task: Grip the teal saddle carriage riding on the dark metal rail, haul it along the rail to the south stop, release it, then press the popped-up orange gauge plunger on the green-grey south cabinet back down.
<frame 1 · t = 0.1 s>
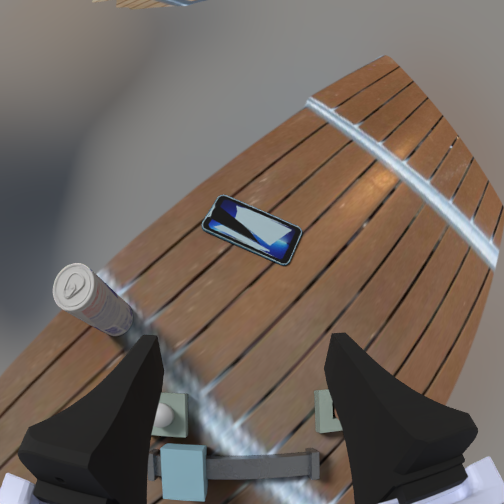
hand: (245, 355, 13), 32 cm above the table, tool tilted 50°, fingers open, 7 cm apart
smartphone: (251, 231, 52), on the table
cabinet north: (166, 413, 39), on the table
beverage can: (116, 318, 44), on the table
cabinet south: (335, 408, 40), on the table
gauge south: (345, 410, 37), point 4 cm above the table, slide at 2.0 cm
carriage: (185, 470, 33), point 3 cm above the table, slide at 7.0 cm
rail: (233, 465, 37), on the table
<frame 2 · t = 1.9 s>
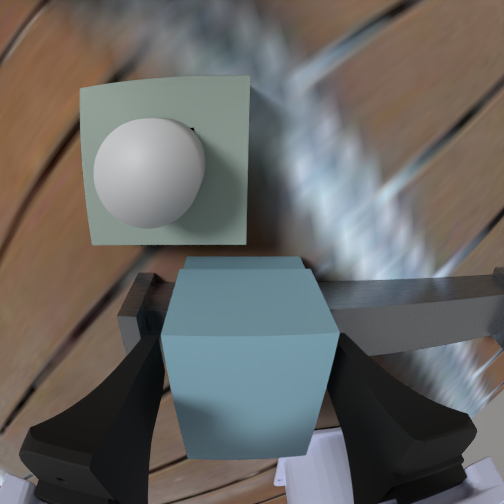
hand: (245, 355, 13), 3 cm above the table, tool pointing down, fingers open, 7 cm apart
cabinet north: (172, 154, 13), on the table
carriage: (245, 356, 13), point 3 cm above the table, slide at 7.0 cm
rail: (356, 305, 16), on the table
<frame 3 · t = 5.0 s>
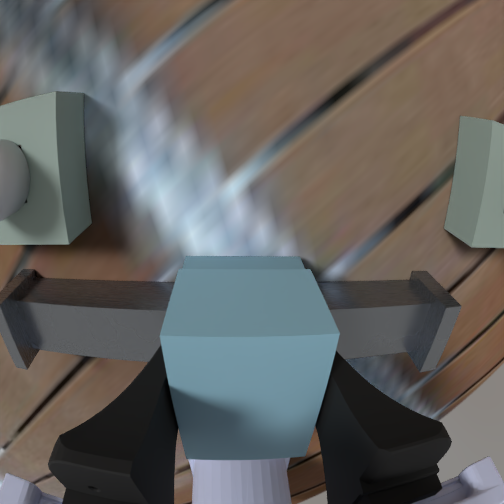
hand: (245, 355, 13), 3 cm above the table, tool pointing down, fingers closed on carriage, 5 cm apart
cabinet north: (33, 165, 12), on the table
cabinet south: (490, 180, 14), on the table
carriage: (244, 356, 13), point 3 cm above the table, slide at 0.0 cm, touching gripper
rail: (220, 309, 16), on the table
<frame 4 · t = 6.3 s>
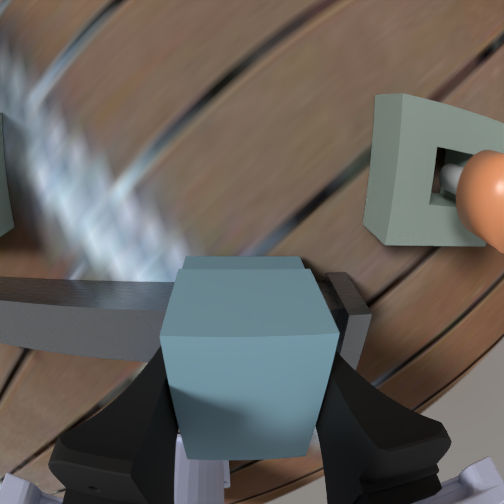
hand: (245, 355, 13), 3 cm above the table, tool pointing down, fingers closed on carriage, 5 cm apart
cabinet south: (424, 167, 13), on the table
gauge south: (482, 190, 9), point 4 cm above the table, slide at 2.0 cm
carriage: (244, 356, 13), point 3 cm above the table, slide at -5.0 cm, touching gripper
rail: (125, 307, 15), on the table
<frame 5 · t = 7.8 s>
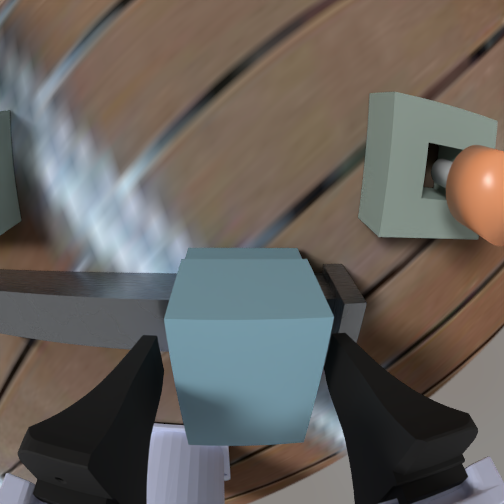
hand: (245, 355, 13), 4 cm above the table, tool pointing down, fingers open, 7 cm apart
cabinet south: (418, 163, 14), on the table
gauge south: (472, 184, 10), point 4 cm above the table, slide at 2.0 cm
carriage: (244, 343, 13), point 4 cm above the table, slide at -5.0 cm
rail: (129, 297, 16), on the table
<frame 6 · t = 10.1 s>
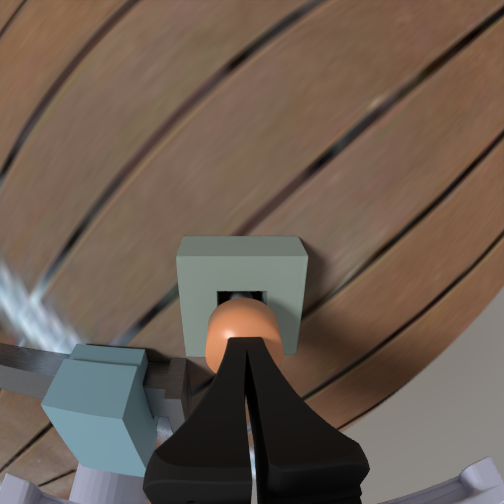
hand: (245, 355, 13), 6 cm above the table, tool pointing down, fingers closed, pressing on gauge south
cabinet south: (240, 286, 18), on the table
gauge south: (242, 324, 15), point 4 cm above the table, slide at 1.1 cm, touching gripper
carriage: (109, 411, 17), point 4 cm above the table, slide at -5.0 cm
rail: (52, 366, 20), on the table
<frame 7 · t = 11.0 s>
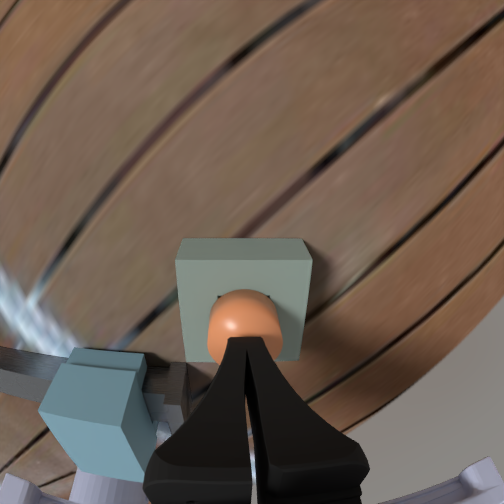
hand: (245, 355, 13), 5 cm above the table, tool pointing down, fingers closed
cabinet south: (241, 289, 17), on the table
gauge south: (243, 315, 15), point 2 cm above the table, slide at 0.0 cm
carriage: (107, 416, 17), point 4 cm above the table, slide at -5.0 cm
rail: (50, 369, 20), on the table
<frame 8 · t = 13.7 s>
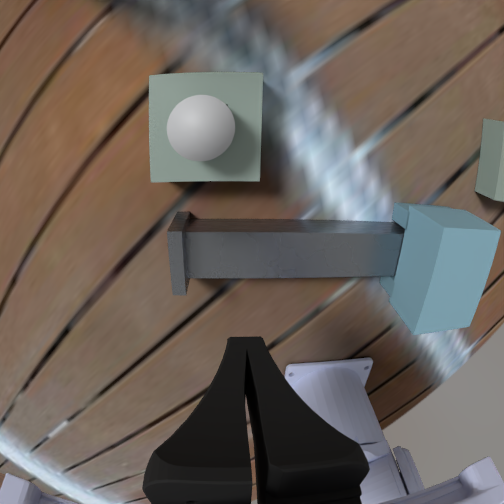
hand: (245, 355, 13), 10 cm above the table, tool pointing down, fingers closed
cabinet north: (207, 125, 18), on the table
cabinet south: (502, 160, 20), on the table
carriage: (436, 262, 19), point 3 cm above the table, slide at -5.0 cm
rail: (340, 241, 22), on the table
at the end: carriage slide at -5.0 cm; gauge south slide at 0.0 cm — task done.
